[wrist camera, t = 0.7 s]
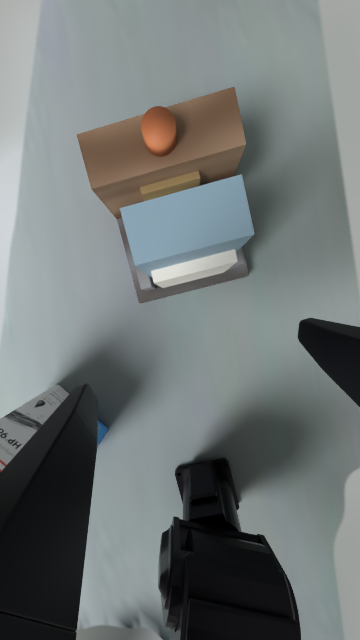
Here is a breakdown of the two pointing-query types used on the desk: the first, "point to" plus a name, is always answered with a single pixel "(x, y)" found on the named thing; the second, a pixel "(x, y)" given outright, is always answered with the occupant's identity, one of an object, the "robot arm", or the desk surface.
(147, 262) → the blue white block
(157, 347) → the desk surface
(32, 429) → the ink box
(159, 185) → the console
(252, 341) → the desk surface
